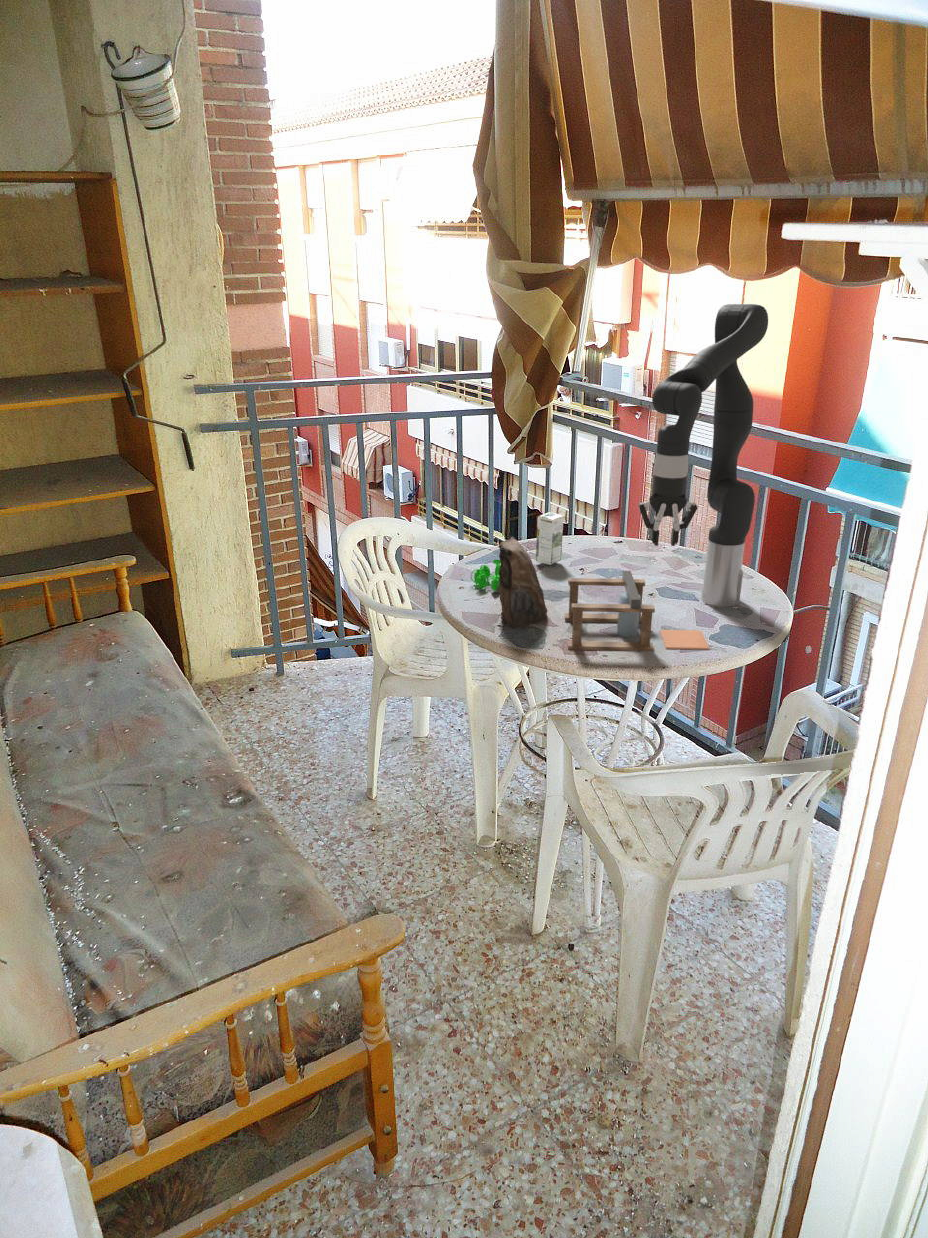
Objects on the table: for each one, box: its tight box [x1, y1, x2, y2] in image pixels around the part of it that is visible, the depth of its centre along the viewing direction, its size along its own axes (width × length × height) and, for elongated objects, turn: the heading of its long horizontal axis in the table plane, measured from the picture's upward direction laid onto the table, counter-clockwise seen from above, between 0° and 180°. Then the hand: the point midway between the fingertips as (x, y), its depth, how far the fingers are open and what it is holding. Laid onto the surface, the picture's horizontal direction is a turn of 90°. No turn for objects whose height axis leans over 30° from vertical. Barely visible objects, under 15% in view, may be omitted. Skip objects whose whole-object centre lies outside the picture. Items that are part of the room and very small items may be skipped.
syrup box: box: [535, 512, 565, 566], centre depth 257 cm, size 6×6×14 cm
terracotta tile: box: [659, 629, 710, 650], centre depth 205 cm, size 10×10×1 cm
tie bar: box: [621, 570, 640, 608], centre depth 205 cm, size 2×19×2 cm, turn 176°
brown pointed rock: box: [497, 536, 549, 629], centre depth 216 cm, size 13×13×20 cm
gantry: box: [564, 577, 656, 651], centre depth 208 cm, size 20×20×11 cm
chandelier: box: [470, 559, 501, 592], centre depth 241 cm, size 15×15×7 cm
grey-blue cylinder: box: [616, 592, 641, 638], centre depth 208 cm, size 5×5×10 cm
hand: (664, 544), depth 200 cm, fingers open, 3 cm apart
